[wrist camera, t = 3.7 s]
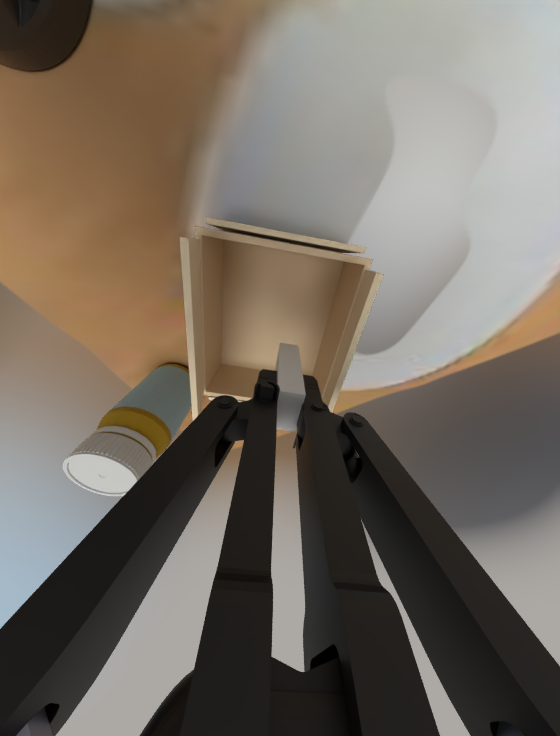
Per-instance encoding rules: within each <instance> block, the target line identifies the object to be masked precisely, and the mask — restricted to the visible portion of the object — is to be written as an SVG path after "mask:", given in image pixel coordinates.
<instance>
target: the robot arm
mask: <svg viewBox="0 0 560 736" xmlns="http://www.w3.org/2000/svg"><path fill="white" fill-rule="evenodd" d="M89 6H90V0H0V64H3V65H6V66H8V67H12V68H15V69H20V70H30V71H34V70H42V69H46V68H49V67H52V66H54V65H56V64H58V63H59V62H60V61H62V60H63V59H64V58H65V57H66V56H68V54H69V53H70V52H71V51H72V50H73V48H74V47H75V45H76V44H77V42H78V40H79V38H80V36H81V34H82V31H83V29H84V26H85V22H86V19H87V15H88V11H89ZM296 427H297V435H296V439H295V442H294V445H293V448H295V446H296V454H297V471H298V487H299V505H300V521H301V538H302V555H303V571H304V589H305V618H304V628H303V648H304V667H305V668H304V669H305V672H299V671H297V670H295V669H293V668H292V667H290V666H288V665H286V664H284V663H282V662H280V661H278V660H277V659H275V658H273V657H271V651H272V650H271V649H272V617H273V584H272V578H271V552H272V528H273V503H274V501H273V500H274V477H275V451H276V429H279V430H287V431H294V432H295V431H296ZM238 440H244V444H243V448H242V453H241V459H240V463H239V467H238V473H237V477H236V482H235V487H234V491H233V496H232V501H231V506H230V510H229V515H228V520H227V525H226V530H225V535H224V539H223V544H222V549H221V554H220V558H219V563H218V567H217V571H216V574H215V578H214V581H213V586H212V590H211V594H210V598H209V603H208V607H207V612H206V617H205V621H204V626H203V630H202V635H201V640H200V644H199V649H198V654H197V658H196V663H195V668H194V670H193V671H191V672H190V673H189V674H188V675H186V676H185V677H184V678H183V679H182V680H181V681H180V682H179V683H178V684H177V685H176V686H175V687H174V689H173V690H172V691H171V692H170V693H169V695H168V696H167V697H166V698H165V700H164V701H163V702H162V703H161V705H160V706H159V708H158V709H157V711H156V712H155V713H154V715H153V716H152V718H151V719H150V721H149V722H148V724H147V725H146V727H145V728H144V730H143V731H142V733H141V735H140V736H440V735H439V732H438V729H437V726H436V722H435V719H434V716H433V713H432V710H431V707H430V704H429V701H428V698H427V694H426V691H425V688H424V685H423V682H422V679H421V676H420V673H419V670H418V666H417V663H416V660H415V658H414V654H413V651H412V648H411V645H410V642H409V639H408V635H407V632H406V629H405V626H404V623H403V620H402V617H401V614H400V612H399V609H398V607H397V604H396V602H395V601H394V599H393V597H392V595H391V594H390V593H389V592H388V591H387V590H386V589H385V588H383V586H382V585H381V583H380V582H379V579H378V577H377V574H376V570H375V567H374V563H373V560H372V557H371V553H370V550H369V546H368V543H367V539H366V536H365V532H364V529H363V525H362V522H363V523H364V526H365V528H366V530H367V532H368V534H369V536H370V538H371V540H372V542H373V544H374V546H375V548H376V550H377V552H378V555H379V557H380V559H381V561H382V562H383V565H384V567H385V569H386V571H387V573H388V575H389V577H390V579H391V581H392V583H393V585H394V587H395V590H396V592H397V594H398V596H399V598H400V600H401V602H402V604H403V606H404V608H405V610H406V612H407V614H408V616H409V619H410V620H411V623H412V625H413V627H414V629H415V631H416V633H417V635H418V637H419V639H420V641H421V643H422V645H423V647H424V650H425V652H426V654H427V656H428V658H429V660H430V662H431V664H432V666H433V668H434V670H435V672H436V674H437V676H438V677H439V679H440V682H441V683H442V685H443V687H444V689H445V691H446V693H447V695H448V697H449V699H450V701H451V702H452V704H453V706H454V708H455V709H456V711H457V713H458V715H459V716H460V718H461V720H462V721H463V723H464V725H465V727H466V728H467V730H468V732H469V734H470V735H471V736H560V666H559V665H558V664H557V662H556V661H555V660H554V658H553V657H552V656H551V655H550V654H549V652H548V651H547V650H546V648H545V647H544V646H543V644H542V643H541V642H540V641H539V639H538V638H537V637H536V636H535V634H534V633H533V632H532V631H531V629H530V628H529V627H528V626H527V624H526V623H525V621H524V620H523V619H522V618H521V616H520V615H519V614H518V613H517V611H516V610H515V609H514V608H513V606H512V605H511V604H510V602H509V601H508V600H507V599H506V597H505V596H504V595H503V593H502V592H501V591H500V590H499V589H498V587H497V586H496V585H495V583H494V582H493V581H492V579H491V578H490V577H489V576H488V574H487V573H486V572H485V570H484V569H483V568H482V567H481V565H480V564H479V563H478V562H477V560H476V559H475V558H474V556H473V555H472V554H471V553H470V551H469V550H468V549H467V547H466V546H465V545H464V544H463V542H462V541H461V540H460V539H459V537H458V536H457V535H456V533H455V532H454V531H453V530H452V528H451V527H450V526H449V525H448V523H447V522H446V521H445V519H444V518H443V517H442V516H441V514H440V513H439V512H438V511H437V509H436V508H435V507H434V505H433V504H432V503H431V502H430V500H429V499H428V498H427V497H426V495H425V494H424V493H423V491H422V490H421V489H420V488H419V486H418V485H417V484H416V483H415V481H414V480H413V479H412V477H411V476H410V475H409V474H408V472H407V471H406V470H405V469H404V467H403V466H402V465H401V463H400V462H399V461H398V459H397V458H396V457H395V456H394V455H393V453H392V452H391V451H390V449H389V448H388V447H387V445H386V444H385V443H384V442H383V440H382V439H381V438H380V437H379V435H378V434H377V433H376V431H375V430H374V429H373V428H372V427H371V425H370V424H369V423H368V421H367V420H366V419H365V418H364V417H362V416H361V415H359V414H356V413H346V414H345V415H344V417H341V416H338V415H336V414H334V413H332V412H330V410H329V408H328V406H327V405H326V404H325V403H324V402H323V401H322V397H321V393H320V390H319V386H318V382H317V380H316V379H315V378H314V376H309V375H303V374H302V367H301V361H300V354H299V348H298V345H292V344H286V343H280V344H279V350H278V355H277V361H276V366H275V371H273V370H267V369H262V370H261V371H260V372H259V375H258V380H257V383H256V384H255V387H254V395H253V398H251V399H250V400H248V401H243V402H238V400H237V399H236V398H234V397H232V396H228V395H221V396H218V397H216V398H214V399H213V400H212V401H211V402H210V403H209V404H208V405H207V407H206V408H205V409H204V410H203V411H202V412H201V413H200V414H199V415H198V416H197V417H196V418H195V419H194V421H193V422H192V423H191V424H190V425H189V426H188V427H187V428H186V429H185V430H184V431H183V432H182V434H181V435H180V436H179V437H178V438H177V439H176V440H175V441H174V442H173V443H172V444H171V445H170V447H169V448H168V449H167V450H166V451H165V452H164V453H163V454H162V455H161V456H160V457H159V458H158V459H157V461H156V462H155V463H154V464H153V465H152V466H151V467H150V468H149V469H148V470H147V471H146V472H145V473H144V475H143V476H142V477H141V478H140V479H139V480H138V481H137V482H136V483H135V484H134V485H133V486H132V487H131V489H130V490H129V491H128V492H127V493H126V494H125V495H124V496H123V497H122V498H121V499H120V500H119V502H118V503H117V504H116V505H115V506H114V507H113V508H112V509H111V510H110V511H109V512H108V513H107V514H106V515H105V517H104V518H103V519H102V520H101V521H100V522H99V523H98V524H97V525H96V526H95V527H94V528H93V530H92V531H91V532H90V533H89V534H88V535H87V536H86V537H85V538H84V539H83V540H82V541H81V543H80V544H79V545H78V546H77V547H76V548H75V549H74V550H73V551H72V552H71V553H70V554H69V555H68V556H67V558H66V559H65V560H64V561H63V562H62V563H61V564H60V565H59V566H58V567H57V568H56V569H55V571H54V572H53V573H52V574H51V575H50V576H49V577H48V578H47V579H46V580H45V582H43V584H42V585H41V586H40V587H39V588H38V589H37V590H36V591H35V592H34V593H33V594H32V595H31V596H30V597H29V599H28V600H27V601H26V602H25V603H24V604H23V605H22V606H21V607H20V608H19V609H18V610H17V612H16V613H15V614H14V615H13V616H12V617H11V618H10V619H9V620H8V621H7V622H6V623H5V624H4V626H3V627H2V628H1V629H0V736H55V735H56V734H57V733H58V732H59V730H60V729H61V728H62V726H63V725H64V724H65V723H66V721H67V720H68V718H69V717H70V715H71V714H72V712H73V711H74V710H75V708H76V707H77V705H78V704H79V703H80V701H81V700H82V698H83V697H84V696H85V694H86V693H87V691H88V690H89V688H90V687H91V686H92V684H93V683H94V681H95V680H96V678H97V676H98V675H99V673H100V672H101V670H102V668H103V667H104V665H105V664H106V662H107V660H108V659H109V657H110V656H111V654H112V652H113V651H114V649H115V647H116V646H117V644H118V642H119V641H120V639H121V637H122V635H123V634H124V632H125V630H126V629H127V627H128V625H129V623H130V622H131V620H132V618H133V617H134V615H135V613H136V611H137V610H138V608H139V606H140V605H141V603H142V601H143V599H144V598H145V596H146V594H147V592H148V590H149V589H150V587H151V585H152V584H153V582H154V580H155V579H156V577H157V575H158V573H159V572H160V570H161V568H162V567H163V565H164V563H165V562H166V560H167V558H168V556H169V555H170V553H171V551H172V550H173V548H174V546H175V544H176V543H177V541H178V539H179V537H180V536H181V534H182V532H183V531H184V529H185V527H186V525H187V524H188V522H189V520H190V519H191V517H192V515H193V513H194V511H195V510H196V508H197V506H198V505H199V503H200V501H201V499H202V498H203V496H204V495H205V493H206V491H207V489H208V488H209V486H210V484H211V482H212V481H213V479H214V477H215V476H216V474H217V472H218V470H219V469H220V467H221V465H222V464H223V462H224V460H225V458H226V457H227V455H228V453H229V452H230V450H231V448H232V446H233V445H234V443H235V441H238ZM356 452H357V453H358V455H359V456H358V455H357V453H356ZM360 517H361V518H360ZM361 519H362V522H361Z"/></svg>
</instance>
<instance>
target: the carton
mask: <svg viewBox="0 0 560 736" xmlns="http://www.w3.org/2000/svg"><path fill="white" fill-rule="evenodd" d="M206 224H209V225H212V226H214V227H217V228H220V229H222V230H225V231H229V232H224V231H219V230H214V229H208V228H203V227H198V226H195V239H199V250H200V281H201V313H202V345H203V376H204V395H208V396H209V400H213V399H214V398H216V397H218V396H221V395H228V396H232V397H234V398H236V399H237V400H238V402H243V401H248V400H250V399H251V398H253V395H254V387H255V384H256V383H257V380H258V375H259V372H260V371H261V370H262V369H267V370H273V371H275V366H276V361H277V355H278V350H279V344H280V343H286V344H292V345H298V348H299V354H300V361H301V367H302V374H303V375H309V376H314V378H315V379H316V380H317V382H318V386H319V390H320V393H321V397H322V400H323V397H324V394H325V391H326V388H327V385H328V382H329V379H330V376H331V373H332V370H333V367H334V364H335V361H336V358H337V355H338V352H339V349H340V346H341V343H342V340H343V337H344V334H345V331H346V328H347V325H348V322H349V319H350V316H351V313H352V310H353V307H354V304H355V301H356V298H357V295H358V292H359V289H360V286H361V283H362V279H363V276H364V273H365V270H369V269H370V266H371V264H372V260H373V259H368V258H363V257H358V256H352V255H347V254H342V253H364V252H365V249H366V247H361V246H356V245H351V244H346V243H340V242H335V241H330V240H325V239H319V238H314V237H309V236H304V235H298V234H293V233H288V232H283V231H277V230H272V229H267V228H262V227H256V226H251V225H246V224H241V223H235V222H230V221H225V220H220V219H214V218H209V217H206ZM230 232H235V233H240V234H245V235H240V234H235V233H230ZM246 235H251V236H256V237H261V238H256V237H251V236H246ZM262 238H267V239H272V240H277V241H272V240H267V239H262ZM278 241H283V242H288V243H293V244H288V243H283V242H278ZM294 244H299V245H304V246H299V245H294ZM305 246H310V247H315V248H320V249H315V248H310V247H305ZM321 249H326V250H331V251H336V252H331V251H326V250H321ZM337 252H342V253H337Z"/></svg>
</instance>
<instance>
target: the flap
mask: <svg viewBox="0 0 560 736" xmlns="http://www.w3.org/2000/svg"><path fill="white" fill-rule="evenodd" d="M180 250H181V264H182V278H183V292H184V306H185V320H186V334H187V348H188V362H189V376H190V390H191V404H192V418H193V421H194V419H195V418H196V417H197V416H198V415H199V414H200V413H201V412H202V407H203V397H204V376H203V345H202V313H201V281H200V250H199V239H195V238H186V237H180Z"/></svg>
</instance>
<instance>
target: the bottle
mask: <svg viewBox="0 0 560 736" xmlns="http://www.w3.org/2000/svg"><path fill="white" fill-rule="evenodd" d="M191 407H192V404H191V390H190V376H189V370H188V369H187V368H185V367H183V366H180V365H177V364H165V365H161V366H159V367H158V368H156V369H155V370H154V371H153V372H152V373H151V374H149V375H148V376H147V377H146V378H145V379H144V380H143V381H142V382H141V383H140V384H139V385H137V386H136V387H135V388H134V389H133V390H132V391H131V392H130V393H129V394H128V395H126V396H125V397H124V398H123V399H122V400H121V401H120V402H119V403H118V404H117V405H116V406H114V407H113V408H112V409H111V410H110V411H109V412H108V413H107V414H106V415H105V416H104V417H103V418H102V420H101V422H100V424H99V426H98V428H97V430H96V431H95V432H94V433H93V434H92V435H91V436H90V437H89V438H87V439H86V440H85V441H84V442H82V443H81V444H80V445H79V446H78V447H77V448H76V449H75V450H74V451H73V452H72V453H71V454H70V455H69V456H68V457H67V458H66V460H65V461H64V463H63V470H64V472H65V474H66V475H67V476H68V478H70V480H72V481H73V482H74V483H76V484H77V485H79V486H80V487H82V488H85V489H87V490H89V491H92V492H94V493H98V494H102V495H108V496H124V495H125V494H126V493H127V492H128V491H129V490H130V489H131V487H132V486H133V485H134V484H135V483H136V482H137V481H138V480H139V479H140V478H141V477H142V476H143V475H144V473H145V472H146V471H147V470H148V469H149V468H150V467H151V465H152V463H153V462H154V460H155V458H157V457H158V456H159V455H160V454H161V453H163V452H164V451H165V450H166V448H167V447H168V445H169V444H170V442H171V441H172V439H173V437H174V436H175V434H176V432H177V431H178V429H179V427H180V426H181V424H182V422H183V420H184V419H185V417H186V415H187V414H188V412H189V410H190V409H191Z"/></svg>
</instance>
